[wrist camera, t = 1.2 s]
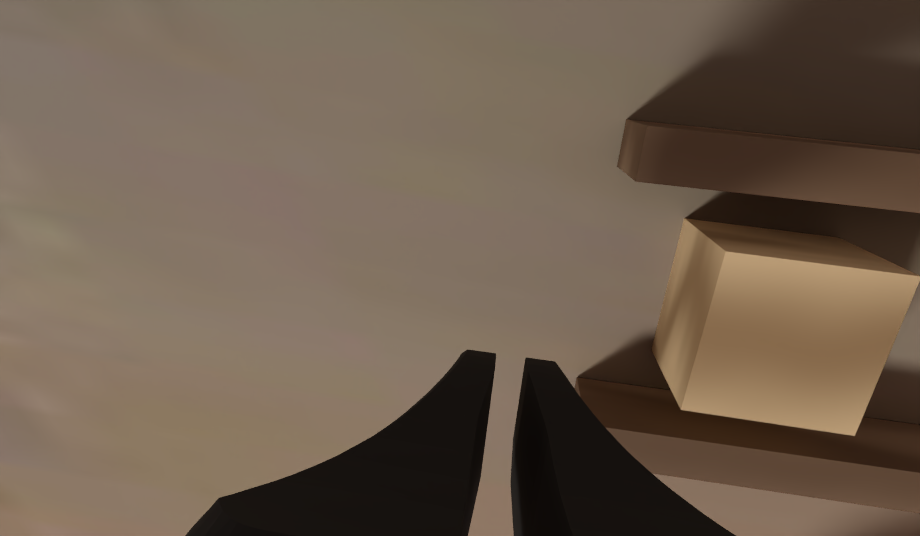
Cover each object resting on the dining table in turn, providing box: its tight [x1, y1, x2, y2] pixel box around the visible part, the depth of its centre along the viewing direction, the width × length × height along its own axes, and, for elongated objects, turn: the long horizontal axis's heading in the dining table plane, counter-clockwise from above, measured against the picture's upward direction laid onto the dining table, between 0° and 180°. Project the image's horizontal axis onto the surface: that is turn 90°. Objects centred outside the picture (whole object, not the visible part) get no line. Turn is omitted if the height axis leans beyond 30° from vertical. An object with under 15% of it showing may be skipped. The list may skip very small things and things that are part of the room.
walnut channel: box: [575, 119, 920, 513], centre depth 17 cm, size 11×14×3 cm
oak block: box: [651, 218, 920, 436], centre depth 17 cm, size 5×5×4 cm
